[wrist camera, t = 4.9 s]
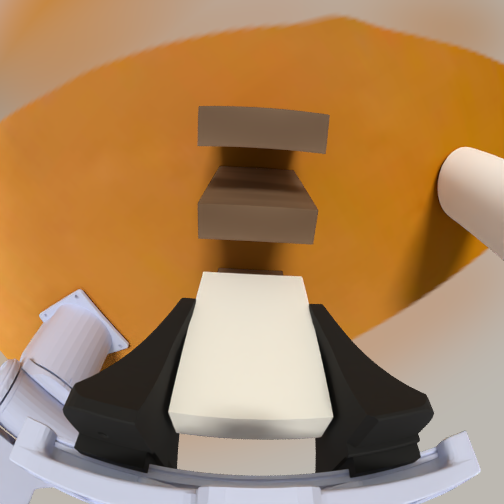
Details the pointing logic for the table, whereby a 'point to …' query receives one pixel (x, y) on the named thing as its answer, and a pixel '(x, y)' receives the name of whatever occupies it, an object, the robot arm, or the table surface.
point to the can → (475, 194)
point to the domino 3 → (251, 362)
